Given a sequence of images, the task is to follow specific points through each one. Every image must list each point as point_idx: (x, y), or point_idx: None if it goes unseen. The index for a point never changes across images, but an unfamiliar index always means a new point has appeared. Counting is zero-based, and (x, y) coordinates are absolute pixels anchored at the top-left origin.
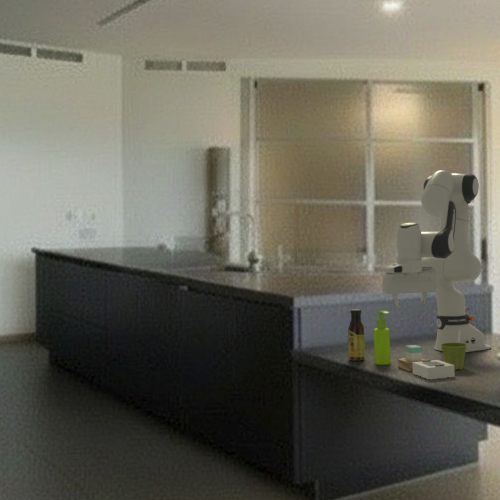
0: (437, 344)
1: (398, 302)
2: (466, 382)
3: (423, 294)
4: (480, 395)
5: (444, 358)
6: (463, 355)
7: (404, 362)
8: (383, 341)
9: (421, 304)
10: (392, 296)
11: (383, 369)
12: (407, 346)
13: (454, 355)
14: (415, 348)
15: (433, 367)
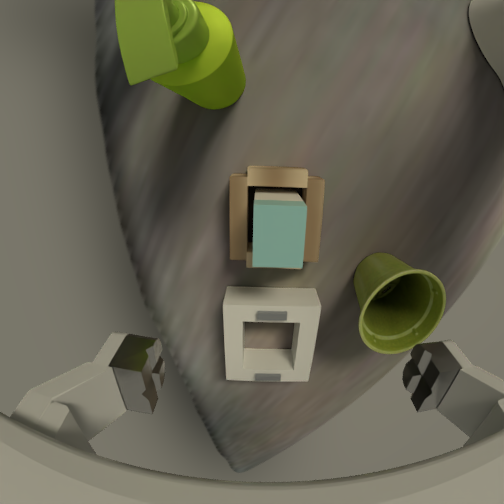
0: (481, 16)
1: (126, 400)
2: (290, 401)
3: (475, 440)
4: (250, 453)
5: (360, 285)
6: (400, 322)
7: (230, 229)
8: (186, 96)
9: (404, 380)
10: (33, 399)
11: (171, 184)
12: (253, 226)
13: (372, 325)
14: (271, 265)
15: (243, 380)
